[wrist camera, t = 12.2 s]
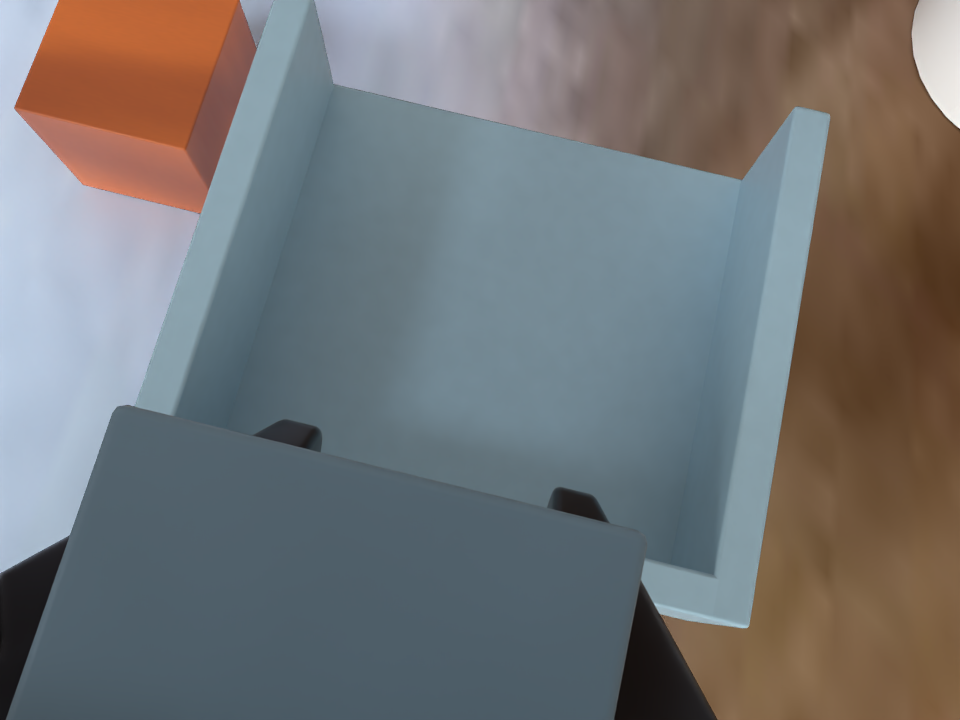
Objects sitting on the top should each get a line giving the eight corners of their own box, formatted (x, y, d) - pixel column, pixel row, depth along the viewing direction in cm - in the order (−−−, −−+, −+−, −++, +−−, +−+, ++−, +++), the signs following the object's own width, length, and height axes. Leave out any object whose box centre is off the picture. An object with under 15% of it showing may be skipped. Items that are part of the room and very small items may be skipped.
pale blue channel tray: (672, 719, 15) (1432, 1165, 3) (147, 588, 15) (-813, 584, 4) (764, 196, 17) (1401, -594, 6) (307, 89, 18) (33, -879, 6)
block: (185, 150, 20) (239, -2, 21) (12, 108, 20) (74, -41, 21) (227, 220, 24) (271, 89, 25) (82, 184, 24) (132, 56, 25)
